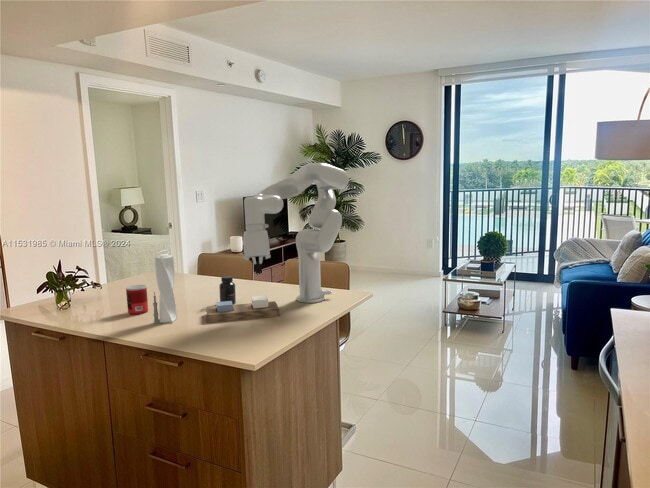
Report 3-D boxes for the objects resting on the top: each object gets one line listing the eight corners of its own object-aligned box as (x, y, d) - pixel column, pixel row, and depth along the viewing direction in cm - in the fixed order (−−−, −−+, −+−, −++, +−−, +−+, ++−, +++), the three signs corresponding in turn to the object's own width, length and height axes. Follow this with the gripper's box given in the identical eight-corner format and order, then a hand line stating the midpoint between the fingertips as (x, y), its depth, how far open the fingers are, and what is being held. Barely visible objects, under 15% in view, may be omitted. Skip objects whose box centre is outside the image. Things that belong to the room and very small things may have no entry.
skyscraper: (161, 318, 192) (156, 249, 188) (181, 317, 192) (176, 248, 188) (153, 324, 183) (148, 252, 180) (174, 324, 183) (169, 252, 179)
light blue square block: (232, 308, 194) (231, 300, 193) (232, 312, 188) (232, 304, 188) (217, 309, 192) (216, 302, 192) (217, 313, 187) (216, 305, 186)
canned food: (152, 310, 202) (150, 285, 201) (139, 315, 195) (137, 289, 193) (137, 309, 205) (135, 284, 203) (124, 314, 197) (121, 288, 196)
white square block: (266, 303, 197) (266, 295, 197) (268, 307, 191) (268, 299, 191) (251, 304, 196) (251, 297, 195) (253, 308, 190) (252, 300, 189)
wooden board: (275, 308, 201) (275, 301, 201) (279, 316, 190) (279, 308, 189) (207, 314, 195) (206, 307, 194) (207, 322, 183) (206, 315, 183)
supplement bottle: (232, 306, 206) (230, 278, 205) (217, 305, 208) (216, 278, 206) (238, 301, 213) (237, 275, 211) (224, 301, 214) (222, 275, 213)
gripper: (273, 225, 194) (275, 269, 197) (235, 228, 191) (238, 272, 194) (275, 227, 187) (277, 273, 190) (236, 230, 184) (239, 276, 186)
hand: (258, 273), depth 192 cm, fingers closed
